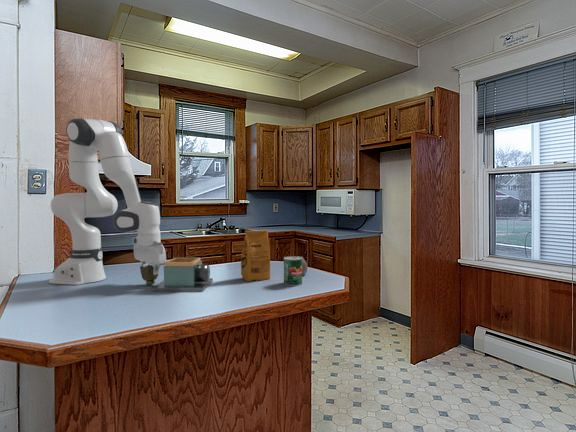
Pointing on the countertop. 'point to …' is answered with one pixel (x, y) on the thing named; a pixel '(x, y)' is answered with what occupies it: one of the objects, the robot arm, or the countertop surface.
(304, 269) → the vase
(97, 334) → the countertop surface
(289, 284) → the canned tomato
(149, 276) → the cup
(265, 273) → the coffee package
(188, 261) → the motor mount
